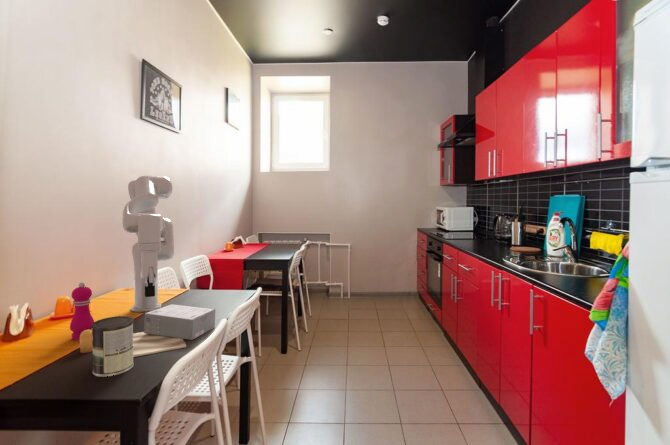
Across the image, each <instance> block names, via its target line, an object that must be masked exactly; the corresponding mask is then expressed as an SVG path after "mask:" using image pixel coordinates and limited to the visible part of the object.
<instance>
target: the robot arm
mask: <svg viewBox="0 0 670 445" xmlns="http://www.w3.org/2000/svg"><path fill="white" fill-rule="evenodd" d="M127 189H128V195H129V198H130V201H128V202H127V203H126V204H125V206H124V207H123V210H122V227H123V228H122V229H123V230H124V231H125V232H126V233H130V234H132V233H133V234H134V233H135V235H136V237H137V241H136V242H134V244H133V245H132V246H131V254H132V260H133V270H134V274H133V275H134V305H131V307H130V311H132V312H136V313H140V312H141V313H143V312H144V313H147V312H150V311H153V310H156V309H159V308H162V303H160V302H159V300H158V298H159V296H158V295H159V293H158V292H159V289H158V287H159V286H158V284H159V283H158V274H159V273H158V261H159V262H160V261H170V260H172V259H173V258H174V256H175V242H174V241H175V240H174V239H175V238H174V236H175V235H174V226H173V225H174V224H173V222H172V220H171V219H170V218H166V217H164V216H163V215H162V214H160V213H156V207H157V206H158V204H159V200H160V199H162V200H166V199H168V198H170V196H171V195H172V193H173V183H172V181H171V178H169V177H167V176H164V175H163V176H162V175H161V176H160V175H157V176H156V175H141V176H139V177H137V179H134V180H131V181H130V182H129V183H128V186H127Z"/></svg>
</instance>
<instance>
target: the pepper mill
mask: <svg viewBox="0 0 670 445" xmlns="http://www.w3.org/2000/svg"><path fill="white" fill-rule="evenodd" d="M92 295H93V291H92V289H91V288H90V287H88V286H86V284H85V283H84V282H80V283H78V287H75V288H74V289H73V290H72V292H71V298H72V300H74V301H73V304H72V305H73V306H74V314H73V317H72V318H71V321H70V324H69V330H71V331H72V333H71V340H73V341H80V335H81V333H82V332H83V331H84V330H87V329H90V330H92V323H94V322H95V320H94V318H93V316H92V314H91V313H90V304H91V299H90V298H91V297H92Z"/></svg>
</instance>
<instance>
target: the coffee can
mask: <svg viewBox="0 0 670 445" xmlns="http://www.w3.org/2000/svg"><path fill="white" fill-rule="evenodd" d="M91 330H92V345H93V351H92V375H94V376H95V377H100V378H104V377H105V378H107V376H108V377H113V375H114V376H119V375H121V374H123V373H126V372H128V371H130V370H131V369H132V368H133V367H134V357H133V333H134V318H133V317H132V316H128V315H127V316H125V315H124V316H123V315H119V316H111V317H110V316H109V317H106V318H101V319H98V320H96V321H94V323H92V329H91Z"/></svg>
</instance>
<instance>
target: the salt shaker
mask: <svg viewBox="0 0 670 445" xmlns="http://www.w3.org/2000/svg"><path fill="white" fill-rule="evenodd" d="M79 352H80V353H81V354H85V353H90V352H93V345H92V329H91V330H90V329H87V330H84V331H83V332H82V333H81V335H80V340H79Z"/></svg>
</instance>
